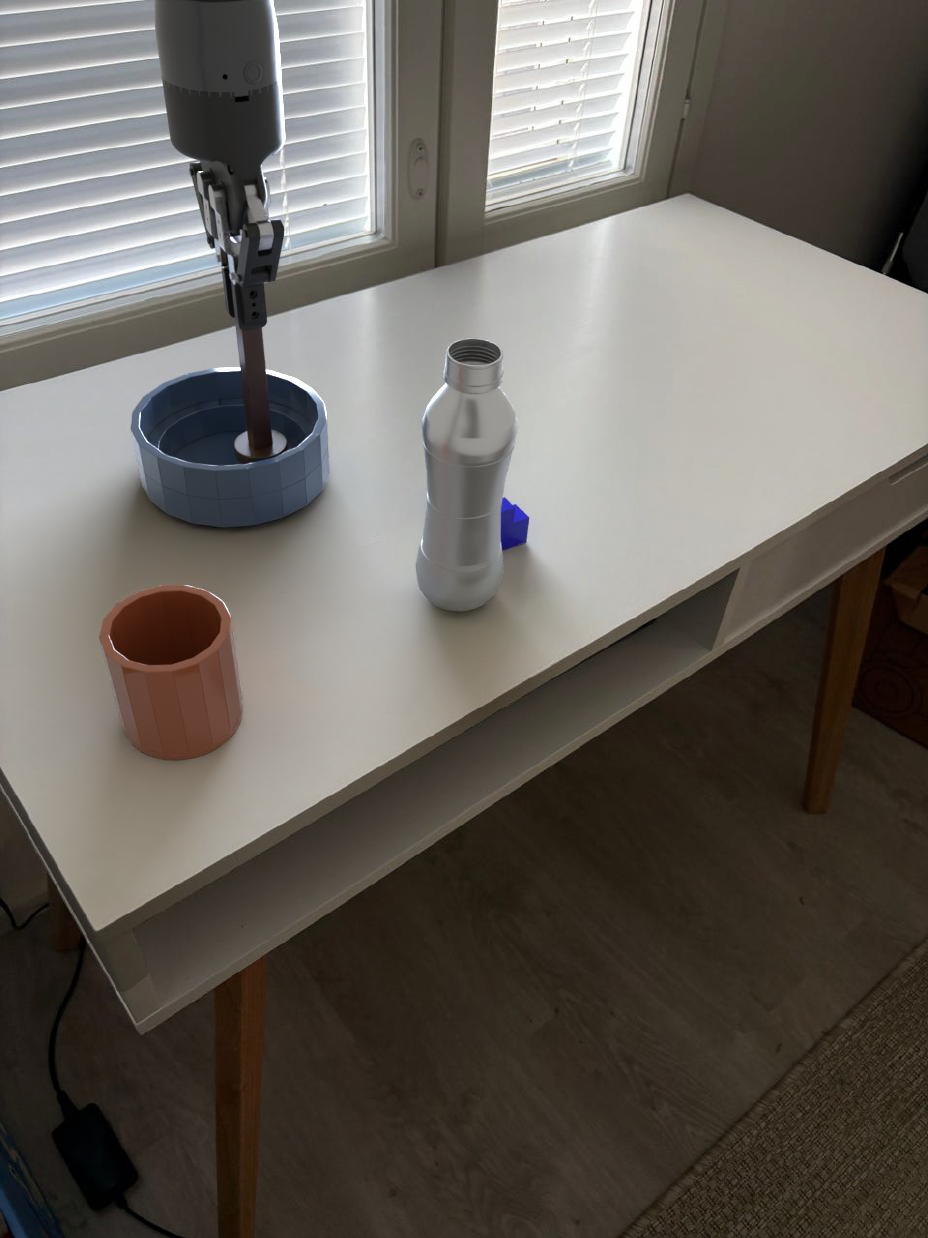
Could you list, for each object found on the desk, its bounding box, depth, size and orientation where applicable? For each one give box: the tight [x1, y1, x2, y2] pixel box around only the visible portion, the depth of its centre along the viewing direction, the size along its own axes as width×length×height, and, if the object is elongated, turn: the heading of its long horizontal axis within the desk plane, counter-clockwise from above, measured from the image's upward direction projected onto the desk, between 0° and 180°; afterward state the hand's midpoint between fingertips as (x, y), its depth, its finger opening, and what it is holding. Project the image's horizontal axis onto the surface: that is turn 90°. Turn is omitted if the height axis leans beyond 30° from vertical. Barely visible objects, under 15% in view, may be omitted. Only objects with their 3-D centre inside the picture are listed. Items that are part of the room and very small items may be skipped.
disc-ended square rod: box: [227, 254, 288, 464], centre depth 79 cm, size 4×4×17 cm
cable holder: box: [501, 496, 530, 552], centre depth 82 cm, size 8×4×4 cm, turn 31°
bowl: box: [130, 366, 330, 528], centre depth 84 cm, size 15×15×6 cm
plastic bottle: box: [415, 337, 519, 612], centre depth 69 cm, size 6×7×20 cm
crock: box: [98, 584, 244, 761], centre depth 63 cm, size 8×8×8 cm
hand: (247, 319), depth 76 cm, fingers closed on disc-ended square rod
